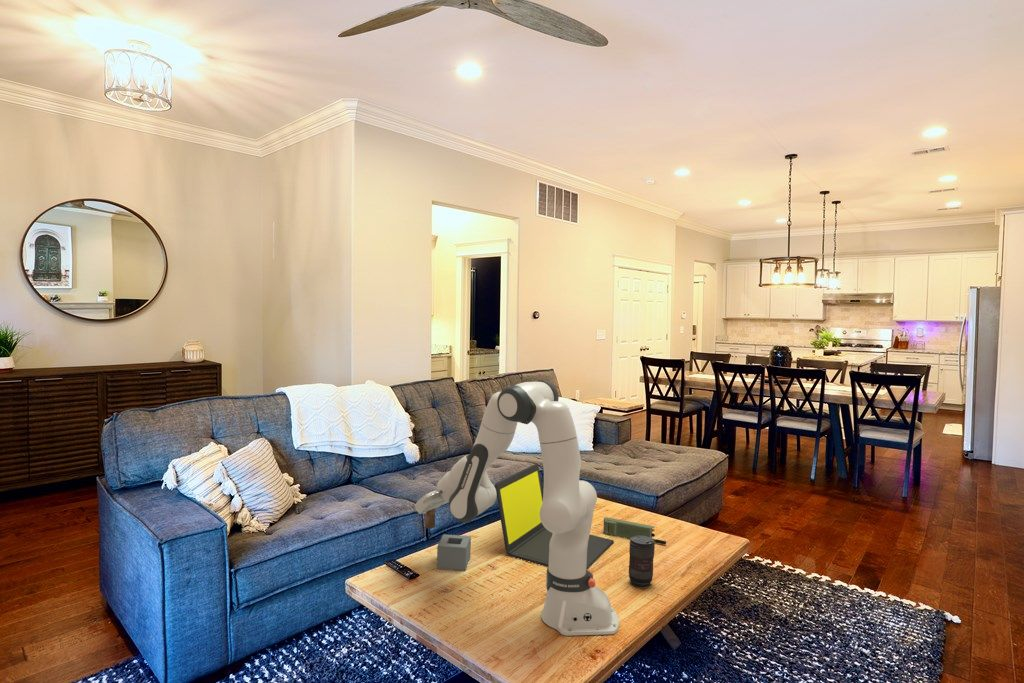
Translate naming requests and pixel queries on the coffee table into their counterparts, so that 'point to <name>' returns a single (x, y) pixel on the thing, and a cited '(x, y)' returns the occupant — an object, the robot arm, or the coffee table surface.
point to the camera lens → (641, 561)
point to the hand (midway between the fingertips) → (428, 509)
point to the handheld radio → (628, 529)
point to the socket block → (453, 552)
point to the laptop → (531, 520)
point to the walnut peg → (430, 519)
